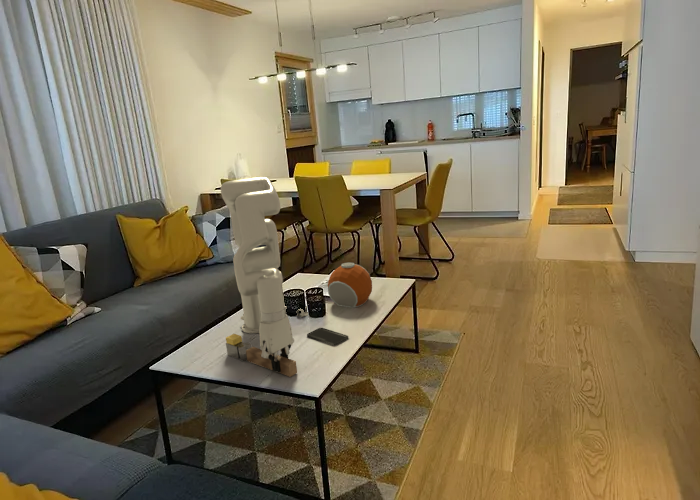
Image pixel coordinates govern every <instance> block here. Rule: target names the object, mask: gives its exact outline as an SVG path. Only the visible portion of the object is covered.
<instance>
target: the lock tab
mask: <svg viewBox="0 0 700 500" xmlns="http://www.w3.org/2000/svg"><path fill="white" fill-rule="evenodd" d="M240 342H243V337H242V335H241V334H236V333H232V334H230V335H228V336H225V344H226V343H228V344H231V345H236V344H238V343H240Z"/></svg>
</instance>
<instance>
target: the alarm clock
mask: <svg viewBox="0 0 700 500" xmlns="http://www.w3.org/2000/svg"><path fill="white" fill-rule="evenodd" d="M371 277H372V276H371V275H370V273H369V272H368V271H367V269H366V268H364V267H363V266H362V265H360V264H355V263H354V262H344V263H341V265H339V266H338V267H337V268H335V269H334V270H333V271H332V273H330V276H329V278H328V280H327V281H328V282H327V292H328V296H329V298H330V299H331V301H332V302H333V303H334V304H335V305H337V306H341V307H345V308H346V307H347V308H357V307H361V306H363V305H364V304H365V303H366V302H367V301H368V300H369V298H370V296H371V294H372V292H373V291H372V290H373V281H372V278H371Z"/></svg>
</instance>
